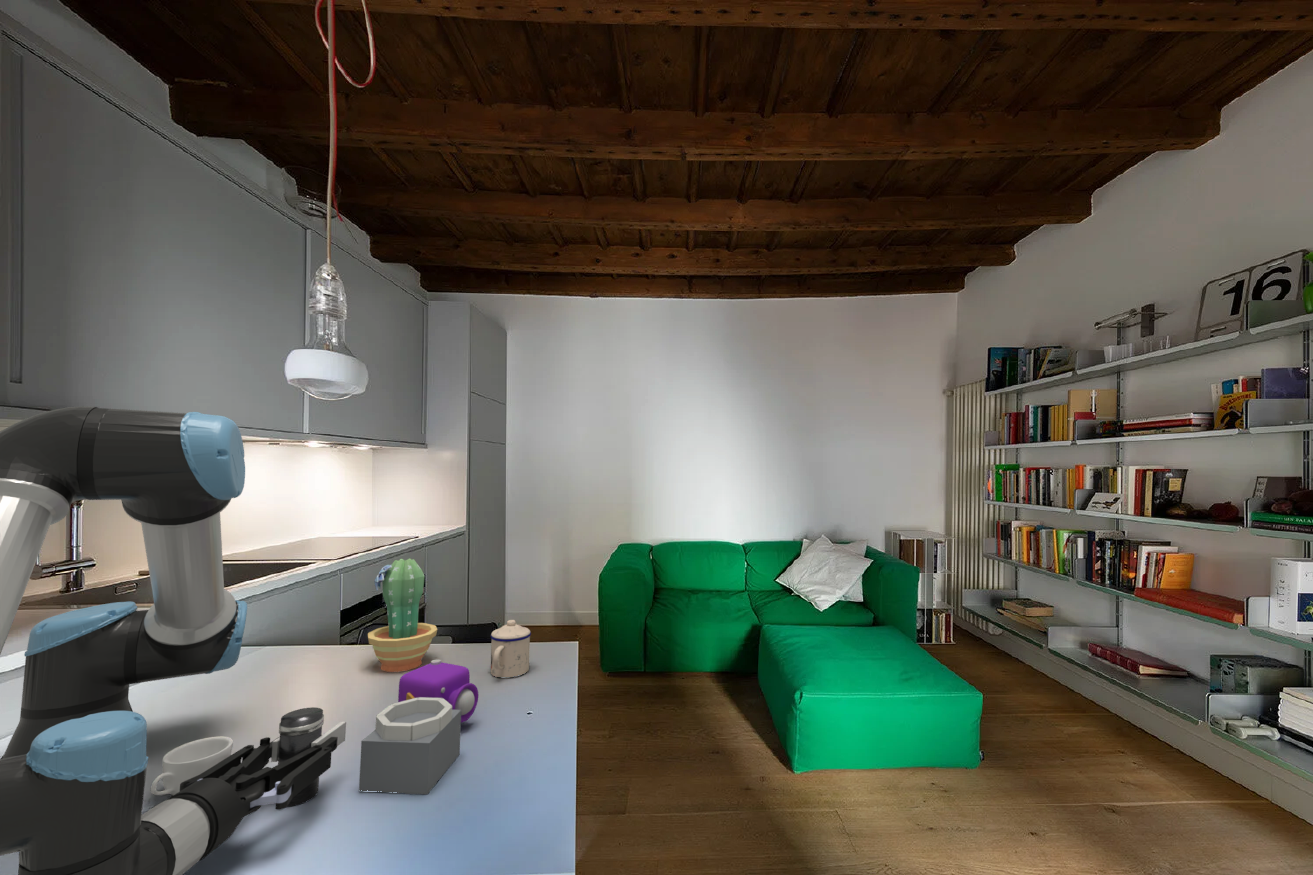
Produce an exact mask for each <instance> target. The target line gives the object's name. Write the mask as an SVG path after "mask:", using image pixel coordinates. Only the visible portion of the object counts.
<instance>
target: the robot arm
mask: <svg viewBox="0 0 1313 875" xmlns="http://www.w3.org/2000/svg"><path fill="white" fill-rule="evenodd" d="M245 478H246V463H245V447H244V441H243V437H242V434H241V431H240V429H239V426H238V425H237V424H236V422H235V421H234V420H233V419H230V418H229V417H226V416H224V415H217V414H206V413H205V414H204V413H202V412H198V411H189V412H187V413H185V412H173V411H157V410H155V411H154V410H142V409H141V410H139V409H121V408H107V407H105V408H104V407H101V408H100V407H97V406H69V407H64V408H63V407H62V408H57V409H52V410H49V411H44V412H41V413H37V414H34V415H31V416H30V417H28V418H25V419H23V420H20V421H17V422H15V423H13V424H11V425H9V426H7V427H5V428H4V429H2V430H1V431H0V655H1V654H2V651H3V649H4V646H5V643H6V641H7V638H8V636H9V634H10V631H11V627H12V625H13V623H14V620H15V617H16V615H17V613H18V610H19V607H20V604H21V602H22V599H23V596H24V594H25V591H26V590H27V586H28V584H29V581H30V578H31V576H32V573H33V570H34V567H35V566H36V563H37V559H38V558H39V555H40V553H41V549H42V548H43V544H44V543H45V542H44V541H45V539H46V537H47V533H48V531H49V529H50V526H51V525H54V524H57V523H59V522H60V521H62V520H63V519H65V518H66V517H67V515H68V513H69V511H70V508H71V506H72V503H75V502H76V501H82V500H87V501H88V500H89V501H106V500H107V501H109V500H111V501H116V500H119V501H120V500H121V505H122V508H123V510H124V512H125V514H126V515H127V516H129V518H131V519H133V520H134V521H137V522H139V523H141V524H140V525H141V530H142V536H143V542H144V549H145V553H146V554H145V555H146V560H147V561H146V562H147V567H148V573H149V579H150V586H151V593H152V598H153V604H152V605H151V606H150V608H149V609H143V610H138V606H137V604H136V602H134V601H129V600H128V601H119V602H116V601H115V602H110V603H109V602H108V603H105V604H104V603H103V604H98V605H93V606H89V607H88V606H87V607H84V608H80V609H79V608H78V609H73V610H70V611H67V612H64V613H59V614H56V615H53V616H50V617H47V618H45V619H43V620H41V621H40V622H38V623H36V624H35V625H33V627H32V628H31V630H30V631H29V636H28V642H27V647H26V651H24V657H25V660H24V661H25V662H24V673H23V683H22V694H21V703H20V704H21V707H20V716H19V721H18V724H17V726H16V729H15V730H14V732H13V734H12V736H11V738H10V741H9V743H8V745H7V747H6V749H5V752H4V754H3V755H2V756H1V758H0V857H1V856H5V855H9V854H13V853H18V871H17V875H184V874H185V873H186V872H187V871H188V870H190V869H191V868H193V867H194V866H195V865H196V864H197V863H198V862H200V861H203V859H205V858H206V857H207V856H208V855H210V854H211V853H212V852H213V851H215V850H216V849H217V848H218V847H220V846H221V845H222V844H224V843H225V842H226V841H227V840H228V839H229V838H230V837H231V836H232V835H233V834H234V833H235V831H236V829H237V828H238V826H239V824H240V823H241V822H242V820H243V819H244V818H246V817H247V816H249V815H251V814H253V813H256V812H257V811H258V810H260V809H261V808H262V807H263V806H265V805H271V804H274V805H275V808H274V809H275V810H276V811H282V810H283V809H285V808H288V807H287V806H288V804H289V803H290V801H291V799H292V798H293V797H294V796H295V795H297V794H298V793H299V792H300V791H302V790H303V789H304V788H305V787H307V786H308V785H309V784H310V783H312V782H313V781H314V780H315V779H317V778H318V777H319V778H320V777H321V775H323V774H324V773H326V772H327V771H328V770H329V769H330V768H331V766H332V754H333V752H334V751H335V750H336V749H337V748H338V747H339V746H340V745H341V744H343V743H344V742H346V732H347V731H346V730H347V729H346V728H347V721H339V723H337V724H336V725H334V726H333V727H332V728H330V729H329V730H327V731H326V732H325V733H322V736H320V737H319V738H318V739H316V740H315V741H313V742H312V743H311V748H309V749H307V750H305V751H303V752H301V753H299V754H298V755H296V756H294V757H292V758H290V759H288V760H286V761H284V762H282V763H280V764H278V756H279V741H280V736H277V737H276V738H275V739H273V740H271V737H270V736H269V737H267V736H266V737H263V738H260V740H259V745H258V746H257V747H255V745H254V744H247V745H245V746H244V747H242V748H240V749H238V750H237V751H235V752H234V753H231V755H230V756H229V757H227V758H226V759H224V760H222V761H221V762H219V763H218V764H216V765H214V766H213V767H211V768H210V769H208V770H206V771H205V772H203V773H201V774H200V775H198V776H195V777H193V778H191V779H188V780H186V781H184V782H182V783H181V784H180V791H179V792H178V793H177V794H175V795H171V796H170V797H169V798H168V799H166V800H164V801H162V802H160V803H158V804H156V805H155V806H153V807H152V808H150V809H148V810H147V811H145V812H144V813H143V806H144V804H143V803H144V794H145V793H144V792H145V783H146V776H147V775H146V772H147V767H148V762H149V756H147V740H148V739H147V736H148V735H147V733H148V732H147V731H148V728H147V726H148V724H147V719H146V718H145V717H144V716H143V715H142V714H141V713H139V712H136V711H133V708H132V705H131V703H130V700H129V693H130V685H134V684H140V683H148V682H153V681H154V682H155V681H161V680H169V679H175V678H181V677H182V678H183V677H189V676H196V675H204V674H205V675H209V674H212V673H214V672H218V671H219V672H220V671H225V670H229V669H231V668H232V667H233V666H235V665H236V663H237V662H238V661H239V657H240V653H241V650H242V648H241V647H242V645H243V639H244V633H245V628H246V621H247V615H248V614H247V613H248V603H247V601H244V600H237V599H235V597H234V595H233V594H232V593H231V592H230V591H228V590H227V589H225V582H224V580H225V579H224V562H223V560H224V559H223V543H222V542H223V541H222V524H221V512H223V510H225V509H226V508H227V506H229V504H230V502H231V500H232V499H235V498H238V497H240V496H241V494H242V493H243V491H244V487H245V481H246V480H245ZM270 759H271V760H270ZM270 762H271V763H277V765H275V766H272V767H271V766H270V767H269V766H267V765H268V764H269V763H270Z"/></svg>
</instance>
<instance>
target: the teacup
mask: <svg viewBox="0 0 1313 875" xmlns="http://www.w3.org/2000/svg"><path fill="white" fill-rule="evenodd" d="M233 746H234V741H233V738H231V737H230V736H225V735H224V736H223V735H222V736H220V735H219V736H210V737H205V738H200V739H195V740H193V741H190V742H186V743H184V744H182V745H180V746H177V747H175V748H173V749H171V750H170V751H168V752H167V753H165V754H164V756H163V757H162V763H161V764H162V766H161V769H162V770H161V771H162V773H161V774H159V775H158V776H157V777H155V779H154V780H153V781H152V783H151V786H150V793H151V794H152V795H155V796H165V795H168V794H169V795H170V796H173V795H175V794H177V793H178V792H179V791H180V784H181V783H182V782H184V781H186V780H188V779H191V778H193V777H195V776H198V775H200V774H201V773H203V772H205V771H206V770H208V769H210V768H211V767H213V766H214V765H216V764H218V763H219V762H221V761H222V760H224V759H226V758H227V757H229V756H230V755H232V752H233V748H234V747H233ZM161 780H162V785H163V787H164V789H163V790H161V791H158V790H157V785H158V783H159V782H160V781H161Z"/></svg>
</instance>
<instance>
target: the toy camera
mask: <svg viewBox="0 0 1313 875" xmlns="http://www.w3.org/2000/svg"><path fill="white" fill-rule="evenodd" d="M470 680H471V679H470V670H469V668H468V667H466V666H462V665H459V664H452V663H447V662H442V660H441V659H433V660H430V663H428V664H425V665H423V666H421V667H420V666H419V667H417V668H414V669H412V670H411V671H410V670H409V671H408V672H407V673H404V674H403V675H402V676H401V677H400V678H399V683H398V695H397V696H398V698H397V703H398V702H402V701H406V700H410V699H413V698H419V697H426V698H443V699H445V700H446V701H447V702H448V703H450V704H451V705H452V710H461V724H462V723H465V722H467V721H468V720H469V719H470V718H471V716H472V715H473V713H474V712H475V711H476V708H477V706H478V702H479V689H478V687H477V685H475V684H474V683H473V682H472V683H471V682H470Z"/></svg>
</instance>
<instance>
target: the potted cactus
mask: <svg viewBox="0 0 1313 875" xmlns="http://www.w3.org/2000/svg"><path fill="white" fill-rule="evenodd" d="M381 583H382V585H381ZM424 585H425V573H424V572H423V569H422V568H421V567H420V566H419V564H418V562H416V560H415V559H414V558H413V559H412V558H408V559H407V558H406V559H403V558H400V559H399V560H397V559H394V561H393V562H392V563H391V564H386V565H384V566H382V568H381V569H380V571H379V573H378V574H377V575H376V577H375V579H374V586H375V592H378V591H379V589H381V586H382V596H383V600H384V603H385V605H386V609H387V611H386V612H387V622H388V625H387V626H386V625H385V626H383V627H378V628H376V629H373V630H371V631H369V632H368V633H367V639H368V644H369V645H370V646H372V649H373V652H374V654H375V657H376V658H377V660H378V661H379V662H380V670H381V671H384V672H385V673H386V672H387V673H400V672H407V671H410V670H411V671H412V670H415V669H418V668H419V667H420V666H421V665H422V664H423V663H422V659H423V657H424V656H425V655H426V653H427V652H428V651H429V648H430V646H431V643H432V640H433V639H434V637H436V636H437V632H438V628H437V626H436V625H435V624H431V623H426V622H419V611H420V610H419V609H420V608H419V607H420V606H419V605H420V601H421V598H422V596H423V593H424Z"/></svg>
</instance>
